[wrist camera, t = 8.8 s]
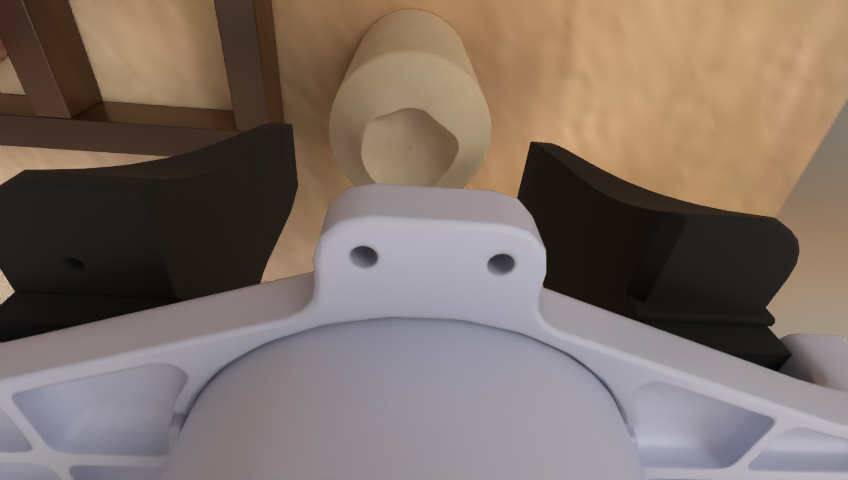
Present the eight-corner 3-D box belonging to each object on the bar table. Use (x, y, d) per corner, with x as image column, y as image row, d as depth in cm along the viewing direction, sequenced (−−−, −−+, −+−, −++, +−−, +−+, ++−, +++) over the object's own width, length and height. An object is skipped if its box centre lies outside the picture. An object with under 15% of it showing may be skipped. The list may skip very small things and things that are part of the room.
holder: (286, 143, 24) (274, 164, 22) (-101, 115, 23) (-154, 135, 20) (260, -105, 18) (239, -109, 15) (-278, -162, 16) (-381, -175, 14)
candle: (460, -4, 20) (491, 47, 12) (472, 113, 23) (503, 216, 15) (343, 19, 20) (295, 83, 12) (371, 130, 24) (348, 239, 15)
